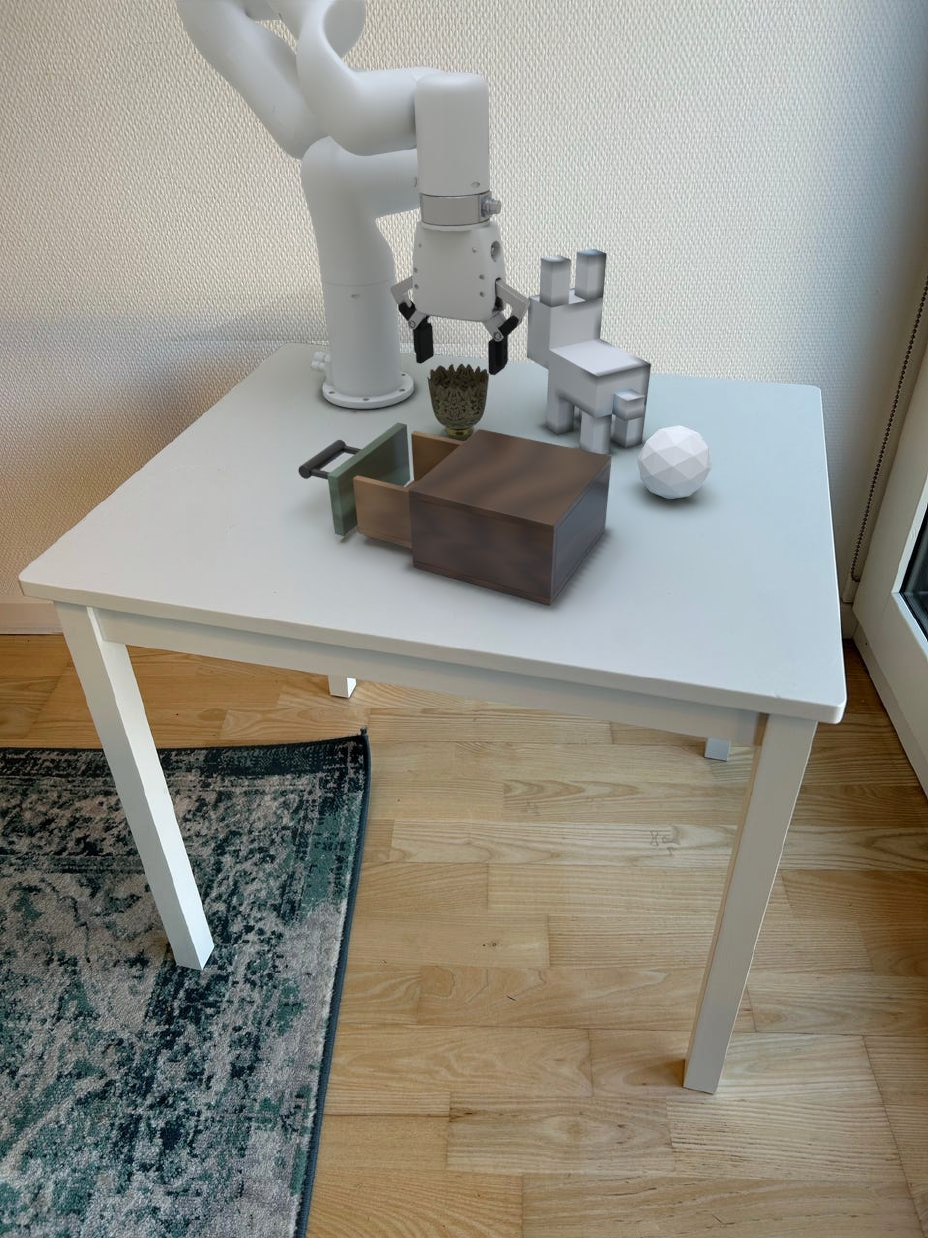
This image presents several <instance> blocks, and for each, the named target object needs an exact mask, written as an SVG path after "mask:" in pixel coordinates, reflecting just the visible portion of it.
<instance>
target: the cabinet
mask: <svg viewBox="0 0 928 1238" xmlns="http://www.w3.org/2000/svg"><path fill="white" fill-rule="evenodd" d="M611 469H612V455H609V454H599V453H594V452H589V451H584V450H580V448H579V449H578V448H575V447H569V446H565V445H564V446H563V445H561V444H560V445H559V444H554V443H549V442H544V441H541V440H540V441H539V440H535V439H532V438H531V439H530V438H526V437H520V436H516V435H510V434H506V433H501V432H495V431H491V430H486V429H482V428H478V429H477V430H476V431H474V432H473V434H472V435H471V436H470V437H469V438H467V439H465V440H464V442H463V443H462V444H461V445H460V446H459V447H457V448H456V449H455V450H454V451H453V452H452V453H451V454H449V455H448V456H447V457H446V458H445V459H444V460H442V461H441V462H440V463H439V464H438V465H437V466H435V467H434V468H433V469H432V470H431V471H430V472H429V473H427V474H426V475H425V476H424V477H423V478H422V479H420V480H419V481H418V482H417V483H416V484H415V485H413V486H412V487H411V488H410V489H409V490H408V493H409V509H410V525H411V540H412V548H411V554H412V567H413V568H415V569H420V570H422V571H426V572H430V573H433V574H437V575H441V576H444V577H448V578H451V579H454V580H458V581H461V582H465V583H469V584H472V585H476V586H479V587H482V588H485V589H486V588H487V589H489V590H494V591H497V592H501V593H504V594H507V595H511V596H515V597H518V598H523V599H525V600H529V601H532V602H536V603H540V604H542V605H546V606H551V605H552V603H553V602H554V600H555V599H556V598H557V596H558V595H559V594H560V593H561V591H562V590H563V588H564V587H565V586H566V584H567V583H568V582H569V580H570V579H571V577H572V576H573V575H574V573H575V572H576V571H577V570H578V568H579V567H580V565H581V564H582V562H583V561H584V560H585V559H586V557H587V556H588V554H589V553H590V552H591V550H592V549H593V548H594V546H595V545H596V544H597V542H598V541H599V540H600V538H601V537H602V535H603V534H604V533H605V530H606V521H607V513H608V511H607V510H608V501H609V491H610V479H611Z"/></svg>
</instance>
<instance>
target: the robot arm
mask: <svg viewBox="0 0 928 1238" xmlns="http://www.w3.org/2000/svg"><path fill="white" fill-rule="evenodd" d="M174 3H175V6H176V9H177V11H178V15H179V17H180V20H181V23H182V25H183V28H184V29H185V31H186V33H187V35H188V37H189V39H190V40H191V42H192V44H193V45H194V47H195V48H196V49H197V51H198V53H200V55H201V57H203V58H204V60H205V61H206V62H207V63H208V64H209V65H210V66H211V67H212V69H214V70H215V71H216V72H217V73H218V74H219V75H220V76H221V77H222V78H223V79H224V80H225V81H226V82H228V84H229V85H230V86H231V87H232V88H233V89H234V90H235V91H236V92H237V93H238V94H239V96H240V97H241V98H242V100H243V101H244V102H245V103H246V105H247V106H248V108H249V109H250V110H251V111H252V113H253V114H254V116H255V117H256V118H257V119H258V120H259V122H260V123H261V124H262V126H263V127H264V128H265V129H266V131H267V132H268V133H269V135H271V137H272V139H273V140H274V141H275V143H276V144H277V145H278V146H279V147H280V148H281V150H283V152H285V154H287V155H288V156H289V157H291V158H293V159H296V160H299V161H301V162H300V180H301V181H300V182H301V186H302V190H303V195H304V198H305V201H306V205H307V209H308V212H309V215H310V220H311V223H312V227H313V228H312V229H313V231H314V237H315V242H316V249H317V256H318V262H319V273H320V280H321V288H322V296H323V297H322V298H323V305H324V314H325V322H326V323H325V324H326V330H327V331H326V332H327V340H328V349H329V350H328V351H329V353H328V352H322V351H319V350H318V351H317V350H316V351H315V352H314V354H313V357H312V361H311V363H310V370H312V371H314V372H317V373H324V374H325V381H324V382H323V384H322V387H321V388H322V395H323V397H324V399H326V401H328V402H329V403H331V404H333V405H336V406H339V407H343V408H348V409H356V410H357V409H359V410H360V409H362V410H366V409H367V410H368V409H378V408H385V407H389V406H392V405H396V404H398V403H401V402H403V401H404V400H406V399H408V398H409V397H410V396H411V395H412V394H413V392H414V390H415V389H414V388H415V386H414V383H415V382H414V379H413V377H412V376H410V375H409V374H408V373H406V372H405V371H403V370H402V359H401V358H402V357H401V343H400V329H399V314H398V313H400V314H401V315H402V317H403V318H404V319H405V320H406V322H407V327H408V328H409V329H410V330H411V331H412V340H413V351H414V353H415V359H416V360H415V361H416V363H417V364H424V363H425V362H427V361H428V360H429V359H431V358H432V357H434V355H435V349H434V348H435V347H434V329H433V325H432V322H429V319H430V318H431V317H433V318H441V319H447V320H455V321H463V322H472V323H482V325H483V326H484V328H485V329H486V330H487V332H488V334H490V337H491V339H490V340H489V341H488V342H487V353H488V354H487V356H488V357H487V359H488V360H487V361H488V366H487V367H488V373H489V376H490V375H491V376H496V375H497V374H499V373H500V372H501V371H503V370H504V369H505V368H506V365H508V361H509V336H510V335H511V334H512V332H513V331H514V330H516V329H517V328H518V327H519V326H520V325H521V323H523V319H524V317H525V316H526V314H527V313H528V308H529V306H530V301H529V300H528V297H526V296H524V295H523V294H522V293H520V292H519V291H518V290H516V289H515V288H513V287H512V286H510V285H509V284H507V275H506V274H507V273H506V265H505V254H504V249H503V241H502V237H501V236H502V235H501V232H500V227H499V223H498V221H496V220H491V218H492V217H493V215H500V214H501V211H502V202H501V200H498V199H495V198H493V194H492V193H493V192H492V190H491V163H490V161H491V159H490V157H491V156H490V154H491V153H490V152H491V151H490V150H491V149H490V148H491V147H490V91H489V85H488V82H487V81H486V79H485V78H484V77H483V76H482V75H481V74H478V73H475V72H466V71H451V72H449V71H448V72H447V71H444V70H442V69H440V68H437V67H432V66H411V67H402V68H401V67H397V68H389V69H388V68H386V69H376V70H367V69H365V68H361V67H356V66H353V67H351V66H348V65H347V64H346V62H345V61H344V60H343V58H344V57H345V56H346V55H348V54H349V52H350V51H352V49H353V48H354V47H355V46H356V44H357V43H358V41H359V40H360V39H361V38H360V37H361V35H362V33H363V30H364V29H365V24H366V19H367V5H366V1H365V0H174ZM264 21H265V22H266V21H267V22H268V21H281V22H282V23H283V24H284V26H285V27H286V28H287V30H288V31H289V32H290V34H291V35H292V36H293V37H294V38H295V40H296V41H297V43H296V52H295V51H294V50H293V48H292V47H291V46H290V44H288V42H286V41H285V40H284V39H283V38H282V37H281V36H279V34H277V33H275V32H274V31H273V30H271V29H269V28H267V27H265V26H263V25H262V24H260V23H258V22H264ZM417 209H419V212H420V220H419V221H417V222H416V225H415V231H414V238H413V248H412V268H411V269H412V270H411V271H412V275H410V276H408V277H406V278H405V279H403V280H401V281H399V282H396V281H397V280H396V266H395V265H396V264H395V258H394V253H393V250H392V247H391V245H390V244H389V241H388V240H387V239H386V237H385V236H384V234H383V233H382V232H381V230H380V228H379V226H378V225H377V222H376V219H379V218H384V217H385V216H390V215H395V214H400V213H406V212H409V211H413V210H417ZM410 290H412V297H413V300H411V299H410V295H409V291H410ZM507 304H508V305H509V306H510V307H511V312H510V315H509V317H508V318H506V316H505V314H503V311H505V310H506V309H507Z"/></svg>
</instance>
